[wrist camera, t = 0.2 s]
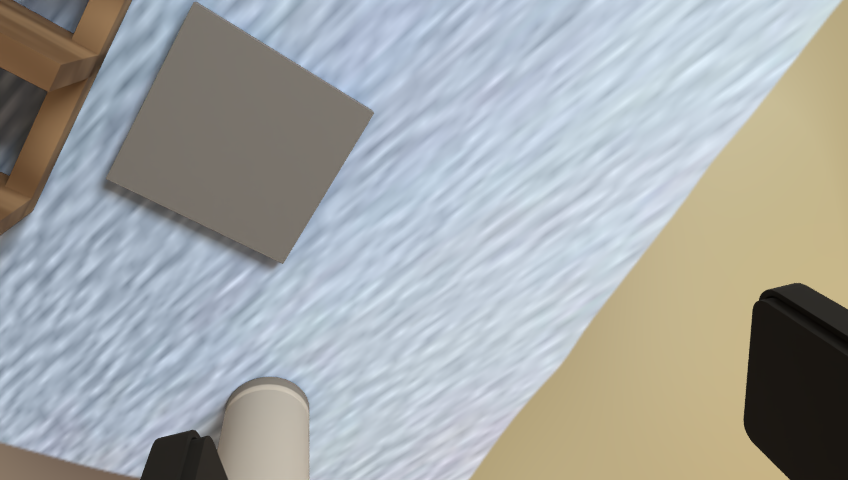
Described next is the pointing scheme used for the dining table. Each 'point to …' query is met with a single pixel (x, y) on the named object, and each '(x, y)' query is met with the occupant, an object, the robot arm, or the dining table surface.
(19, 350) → the dining table surface
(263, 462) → the travel mug
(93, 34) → the walnut rack
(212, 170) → the rubber mat
